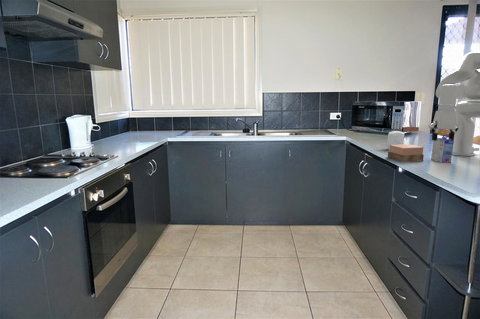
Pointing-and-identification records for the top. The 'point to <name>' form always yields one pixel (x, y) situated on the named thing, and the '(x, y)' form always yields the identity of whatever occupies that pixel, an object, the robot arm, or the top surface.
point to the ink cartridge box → (442, 149)
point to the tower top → (406, 149)
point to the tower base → (405, 157)
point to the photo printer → (395, 138)
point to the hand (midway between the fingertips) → (442, 140)
